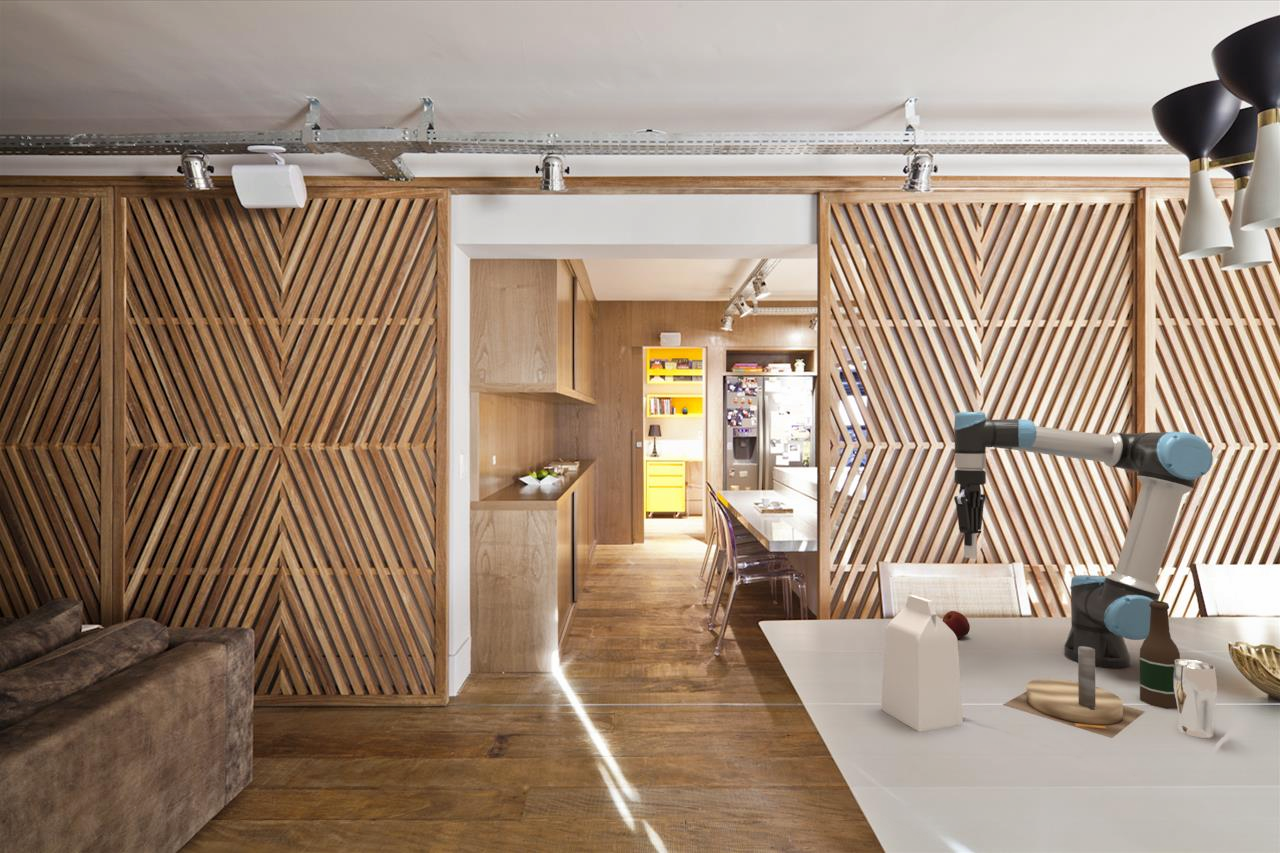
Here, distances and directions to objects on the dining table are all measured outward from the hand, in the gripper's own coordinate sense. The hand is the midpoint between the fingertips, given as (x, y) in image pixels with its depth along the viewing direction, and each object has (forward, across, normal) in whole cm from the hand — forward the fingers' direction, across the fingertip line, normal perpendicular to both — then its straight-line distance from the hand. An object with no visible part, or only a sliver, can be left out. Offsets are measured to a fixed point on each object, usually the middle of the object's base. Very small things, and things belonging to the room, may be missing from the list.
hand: (970, 557), depth 178 cm
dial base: (+29, +12, +28) cm, 42 cm away
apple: (+30, -24, -16) cm, 41 cm away
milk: (+30, +40, +8) cm, 50 cm away
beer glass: (+30, +5, +48) cm, 57 cm away
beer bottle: (+30, -8, +39) cm, 50 cm away
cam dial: (+28, +12, +28) cm, 41 cm away
